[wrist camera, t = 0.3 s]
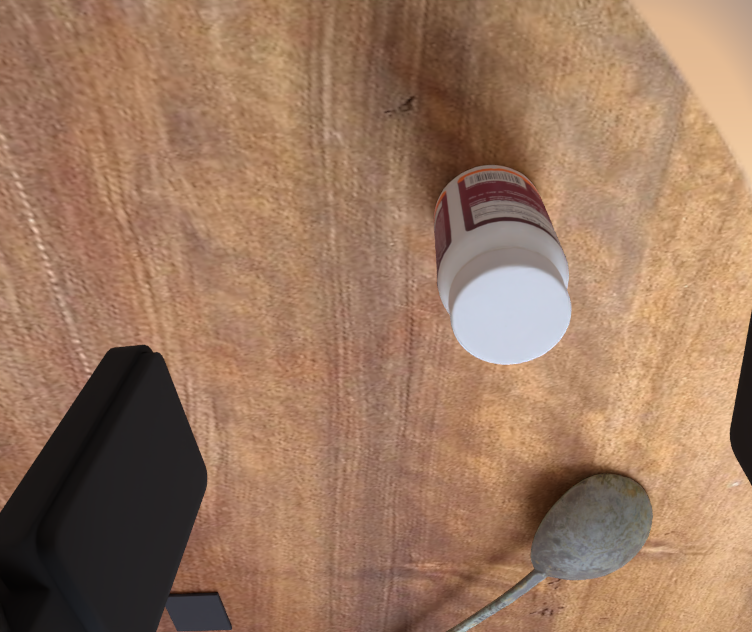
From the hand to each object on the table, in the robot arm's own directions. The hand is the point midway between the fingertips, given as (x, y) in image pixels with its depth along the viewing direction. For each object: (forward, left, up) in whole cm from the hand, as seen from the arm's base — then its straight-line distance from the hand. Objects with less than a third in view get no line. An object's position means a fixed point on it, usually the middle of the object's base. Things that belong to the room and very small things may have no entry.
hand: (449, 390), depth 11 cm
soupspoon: (+31, +2, -19) cm, 36 cm away
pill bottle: (+5, +2, -19) cm, 20 cm away
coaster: (+33, -19, -19) cm, 43 cm away
